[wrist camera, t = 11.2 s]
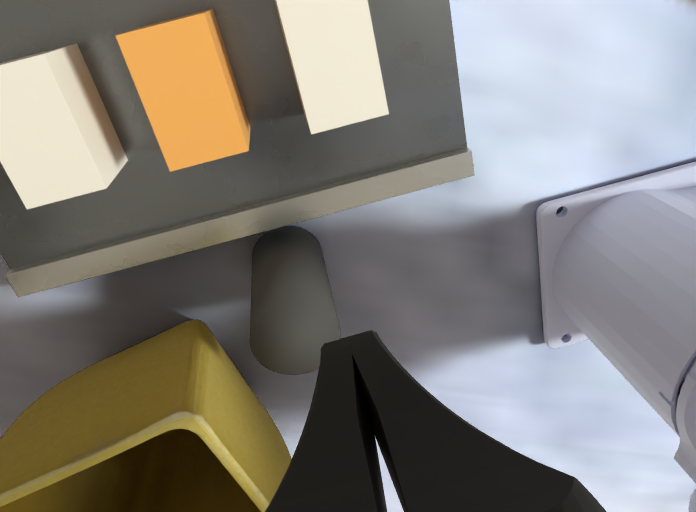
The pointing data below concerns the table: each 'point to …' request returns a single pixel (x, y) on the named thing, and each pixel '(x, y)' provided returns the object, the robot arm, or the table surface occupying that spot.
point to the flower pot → (146, 436)
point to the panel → (241, 169)
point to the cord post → (290, 302)
